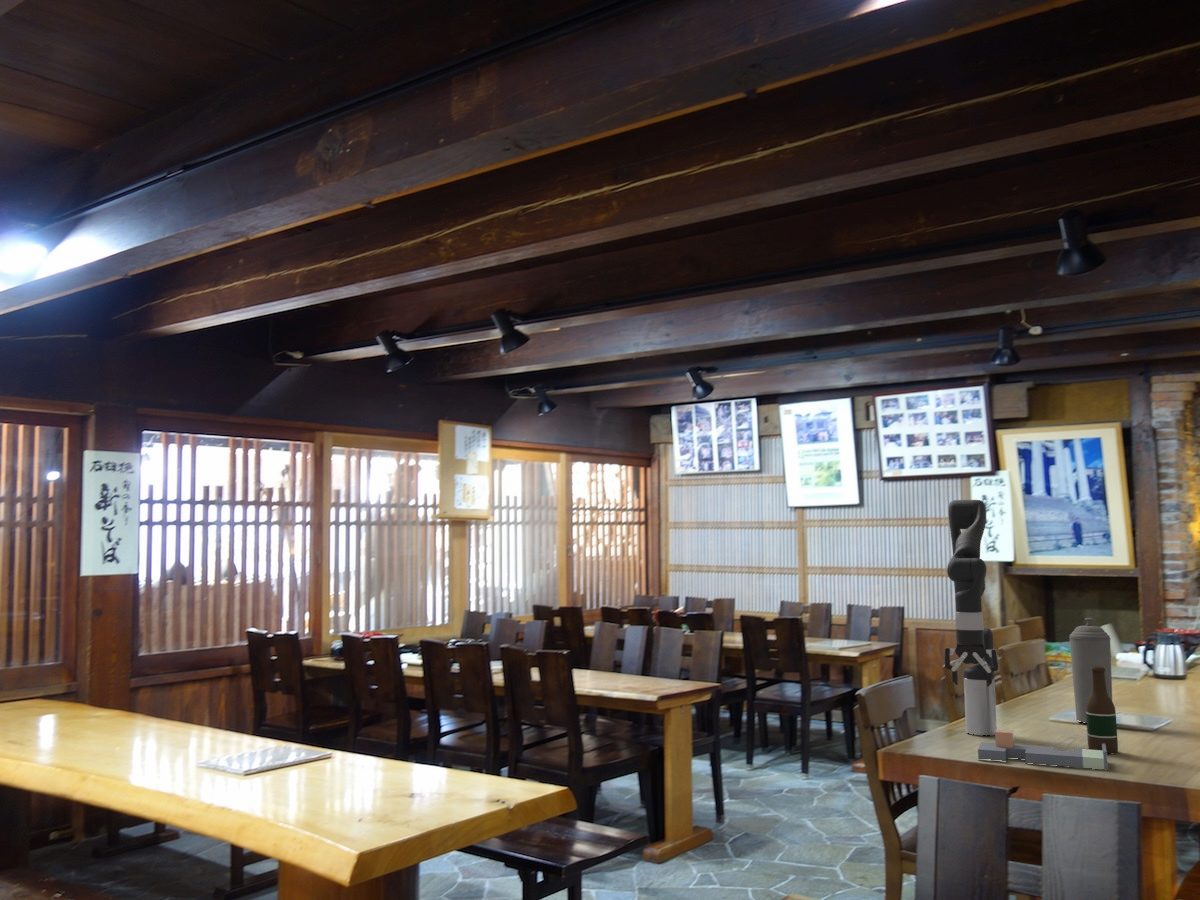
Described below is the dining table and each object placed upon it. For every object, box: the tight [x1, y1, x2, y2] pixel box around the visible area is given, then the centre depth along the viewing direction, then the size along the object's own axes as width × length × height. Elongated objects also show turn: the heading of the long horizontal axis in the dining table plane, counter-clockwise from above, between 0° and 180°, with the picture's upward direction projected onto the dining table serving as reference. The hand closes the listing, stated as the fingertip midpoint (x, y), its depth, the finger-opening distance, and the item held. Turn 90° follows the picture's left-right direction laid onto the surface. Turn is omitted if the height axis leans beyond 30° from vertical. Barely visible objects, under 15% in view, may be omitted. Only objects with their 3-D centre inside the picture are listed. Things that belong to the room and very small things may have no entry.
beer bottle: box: [1086, 666, 1119, 754], centre depth 283 cm, size 8×8×24 cm
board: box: [977, 741, 1109, 771], centre depth 269 cm, size 12×32×5 cm, turn 65°
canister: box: [1068, 617, 1113, 723], centre depth 331 cm, size 13×13×35 cm
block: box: [994, 728, 1015, 748], centre depth 276 cm, size 4×4×4 cm
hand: (972, 685), depth 280 cm, fingers open, 8 cm apart
